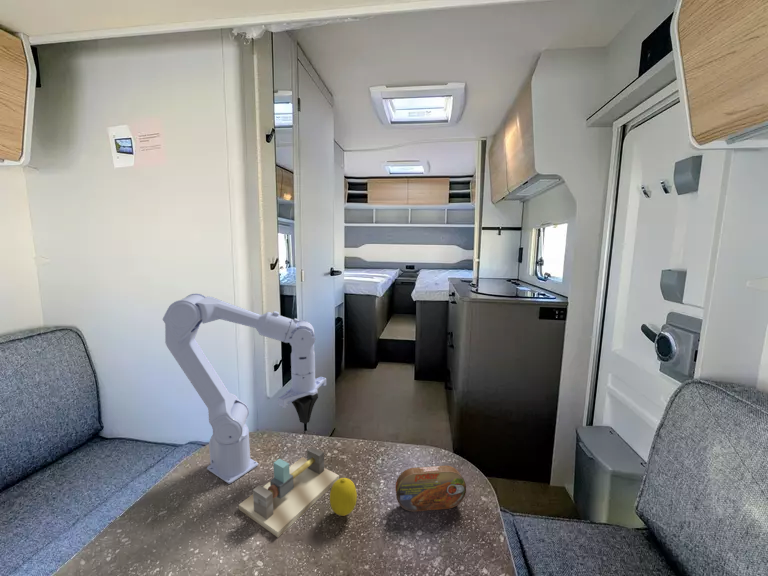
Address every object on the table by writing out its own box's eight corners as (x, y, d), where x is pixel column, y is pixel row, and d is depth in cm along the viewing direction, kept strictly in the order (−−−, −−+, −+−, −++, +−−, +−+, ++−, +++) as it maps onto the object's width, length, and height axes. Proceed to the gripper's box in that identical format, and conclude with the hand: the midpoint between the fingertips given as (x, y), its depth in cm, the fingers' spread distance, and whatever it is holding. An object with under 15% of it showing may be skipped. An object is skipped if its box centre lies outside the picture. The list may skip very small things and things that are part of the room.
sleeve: (280, 499, 68) (279, 470, 67) (270, 493, 70) (269, 465, 69) (293, 488, 71) (292, 460, 70) (284, 482, 73) (283, 455, 72)
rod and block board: (278, 537, 62) (276, 509, 61) (239, 509, 69) (237, 483, 68) (339, 479, 77) (338, 456, 76) (302, 461, 84) (302, 439, 83)
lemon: (352, 527, 65) (352, 491, 63) (325, 522, 66) (325, 486, 64) (360, 505, 70) (360, 471, 69) (335, 501, 71) (335, 468, 70)
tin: (395, 513, 68) (396, 476, 67) (394, 501, 71) (394, 466, 70) (465, 508, 70) (468, 472, 68) (461, 496, 73) (462, 462, 72)
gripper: (292, 385, 73) (293, 441, 75) (335, 364, 85) (335, 413, 87) (271, 378, 76) (273, 431, 78) (314, 359, 89) (315, 406, 91)
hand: (304, 421), depth 83 cm, fingers closed
